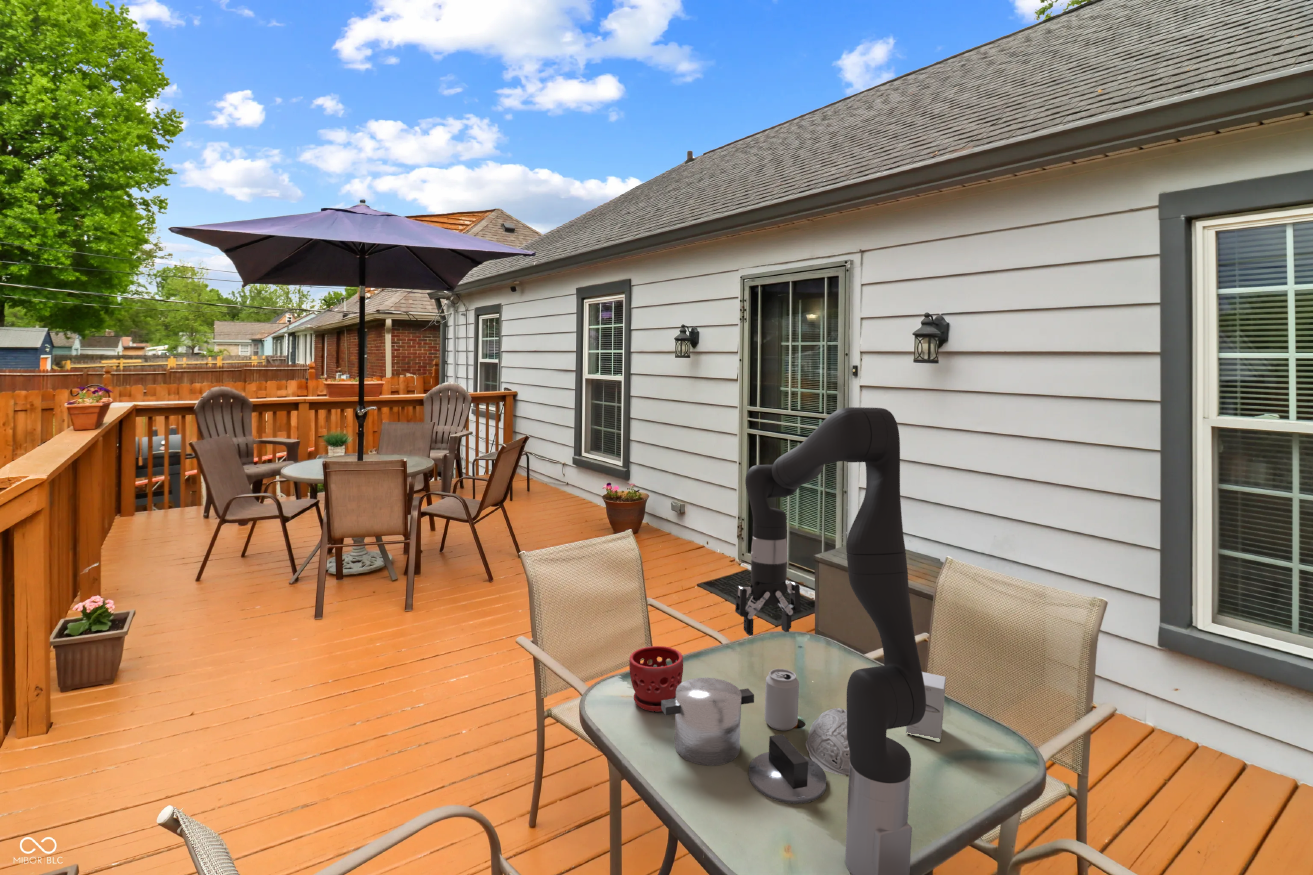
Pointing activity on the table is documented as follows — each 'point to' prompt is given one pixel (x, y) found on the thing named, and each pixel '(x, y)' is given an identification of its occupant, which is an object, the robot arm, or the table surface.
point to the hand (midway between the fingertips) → (767, 632)
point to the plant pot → (655, 676)
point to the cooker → (707, 719)
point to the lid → (786, 773)
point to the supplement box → (931, 707)
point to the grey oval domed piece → (830, 741)
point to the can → (781, 699)
